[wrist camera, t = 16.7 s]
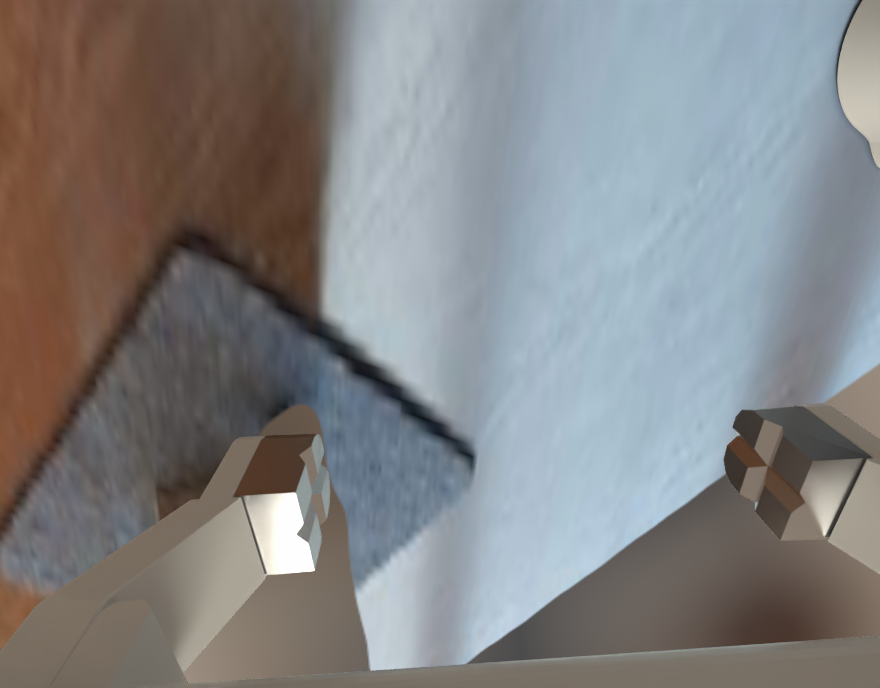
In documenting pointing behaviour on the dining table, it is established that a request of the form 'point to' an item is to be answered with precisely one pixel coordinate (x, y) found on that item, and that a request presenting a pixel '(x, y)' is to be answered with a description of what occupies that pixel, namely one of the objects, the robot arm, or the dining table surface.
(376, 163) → the dining table surface
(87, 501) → the dining table surface
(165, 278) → the dining table surface
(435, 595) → the dining table surface
